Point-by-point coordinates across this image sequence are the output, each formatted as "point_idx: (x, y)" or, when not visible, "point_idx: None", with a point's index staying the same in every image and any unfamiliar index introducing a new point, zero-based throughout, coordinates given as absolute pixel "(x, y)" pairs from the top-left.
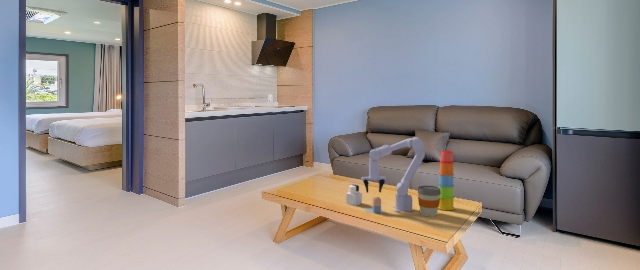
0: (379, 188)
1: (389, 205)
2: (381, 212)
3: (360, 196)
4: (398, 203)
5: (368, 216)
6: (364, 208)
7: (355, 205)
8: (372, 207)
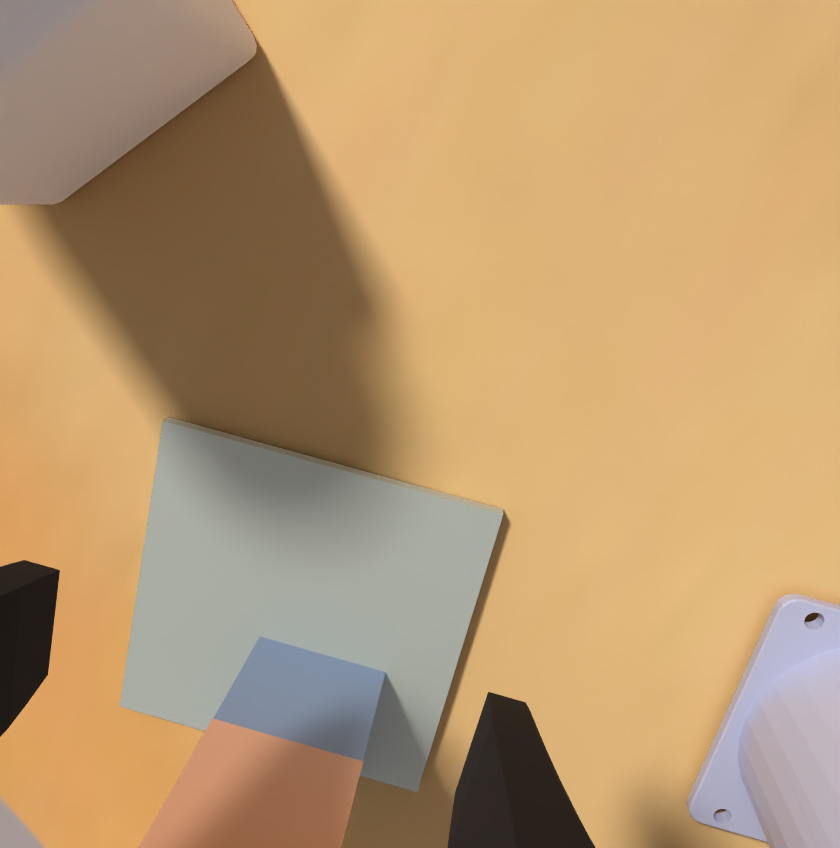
0: (476, 840)
1: (819, 416)
2: (375, 766)
3: (112, 58)
4: None
5: (105, 799)
6: (167, 459)
7: (45, 203)
8: (237, 677)
